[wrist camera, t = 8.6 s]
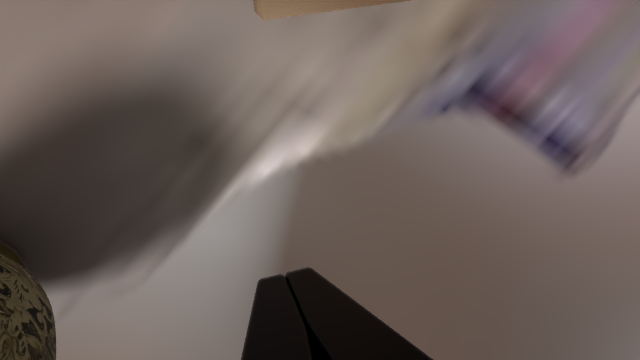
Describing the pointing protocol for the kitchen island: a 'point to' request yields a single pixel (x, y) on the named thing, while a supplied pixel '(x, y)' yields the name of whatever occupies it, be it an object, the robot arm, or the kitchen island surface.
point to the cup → (23, 312)
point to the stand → (308, 6)
